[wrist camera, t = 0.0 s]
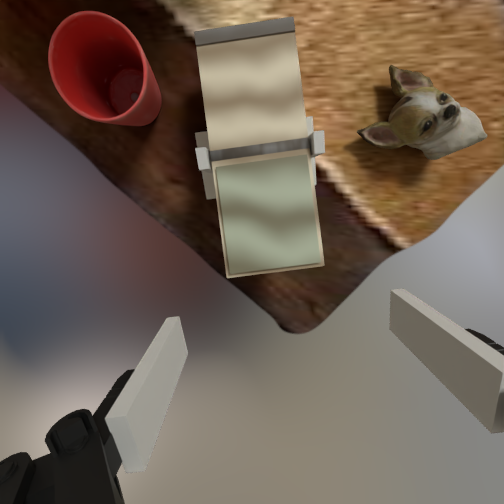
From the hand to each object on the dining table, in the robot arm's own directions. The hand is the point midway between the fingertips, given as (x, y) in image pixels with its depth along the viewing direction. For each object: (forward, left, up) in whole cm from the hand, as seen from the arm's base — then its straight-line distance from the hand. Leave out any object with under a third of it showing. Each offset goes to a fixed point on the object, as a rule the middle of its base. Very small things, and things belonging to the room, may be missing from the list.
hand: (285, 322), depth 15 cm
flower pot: (-23, -16, -28) cm, 40 cm away
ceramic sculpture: (-14, +25, -28) cm, 40 cm away
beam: (-12, +1, -20) cm, 23 cm away
